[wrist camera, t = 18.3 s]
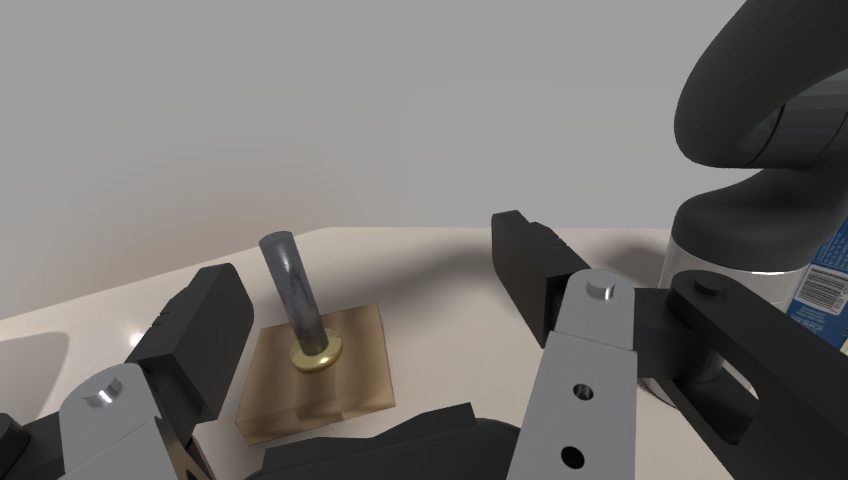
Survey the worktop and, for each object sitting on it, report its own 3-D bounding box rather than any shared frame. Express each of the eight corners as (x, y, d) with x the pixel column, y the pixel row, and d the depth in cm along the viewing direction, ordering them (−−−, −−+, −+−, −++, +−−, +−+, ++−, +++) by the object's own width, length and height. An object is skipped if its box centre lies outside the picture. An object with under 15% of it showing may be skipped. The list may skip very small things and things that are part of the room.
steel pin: (349, 352, 48) (308, 220, 38) (350, 388, 43) (303, 247, 33) (304, 363, 47) (251, 231, 37) (300, 401, 42) (236, 260, 32)
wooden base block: (382, 323, 52) (377, 302, 50) (395, 406, 40) (389, 382, 38) (270, 350, 50) (261, 329, 48) (248, 445, 38) (234, 422, 36)
